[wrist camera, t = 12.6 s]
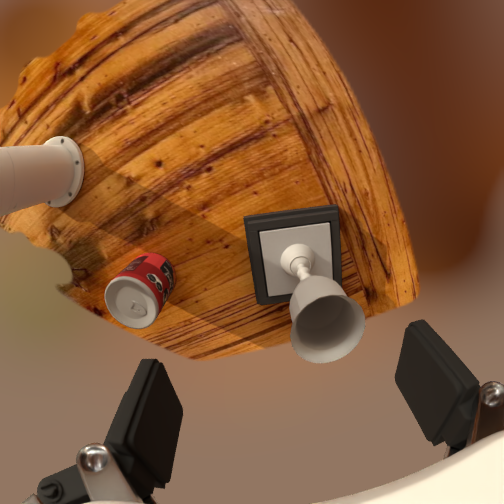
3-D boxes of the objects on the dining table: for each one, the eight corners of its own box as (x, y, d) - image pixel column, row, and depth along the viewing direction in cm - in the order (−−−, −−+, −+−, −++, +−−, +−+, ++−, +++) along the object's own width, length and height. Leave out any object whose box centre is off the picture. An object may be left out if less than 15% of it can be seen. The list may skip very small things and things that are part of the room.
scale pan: (268, 292, 43) (268, 296, 41) (259, 229, 40) (259, 232, 38) (330, 282, 42) (332, 286, 41) (326, 220, 39) (329, 223, 38)
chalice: (320, 281, 41) (359, 357, 24) (275, 285, 41) (290, 367, 24) (320, 234, 38) (369, 290, 21) (273, 237, 38) (289, 298, 21)
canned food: (173, 299, 45) (154, 336, 35) (131, 286, 44) (103, 318, 34) (181, 258, 43) (160, 288, 32) (136, 245, 42) (105, 270, 32)
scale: (256, 299, 45) (257, 309, 42) (243, 216, 41) (243, 220, 38) (339, 287, 44) (344, 295, 42) (335, 204, 40) (341, 207, 37)
